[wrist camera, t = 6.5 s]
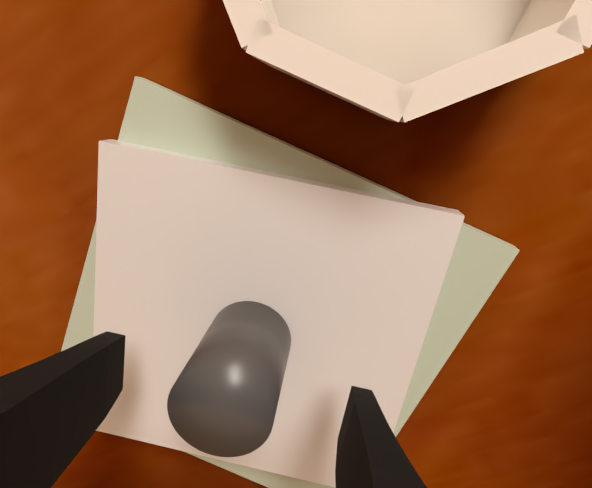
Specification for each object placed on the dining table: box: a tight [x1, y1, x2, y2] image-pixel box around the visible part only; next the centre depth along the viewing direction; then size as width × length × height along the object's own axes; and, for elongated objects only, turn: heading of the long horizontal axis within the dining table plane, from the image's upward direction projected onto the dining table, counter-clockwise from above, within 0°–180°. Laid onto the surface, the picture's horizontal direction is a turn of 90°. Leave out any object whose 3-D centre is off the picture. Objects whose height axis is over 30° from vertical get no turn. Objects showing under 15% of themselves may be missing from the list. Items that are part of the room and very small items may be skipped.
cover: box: [93, 139, 465, 488], centre depth 14 cm, size 12×12×5 cm
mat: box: [61, 76, 520, 488], centre depth 16 cm, size 14×14×1 cm
